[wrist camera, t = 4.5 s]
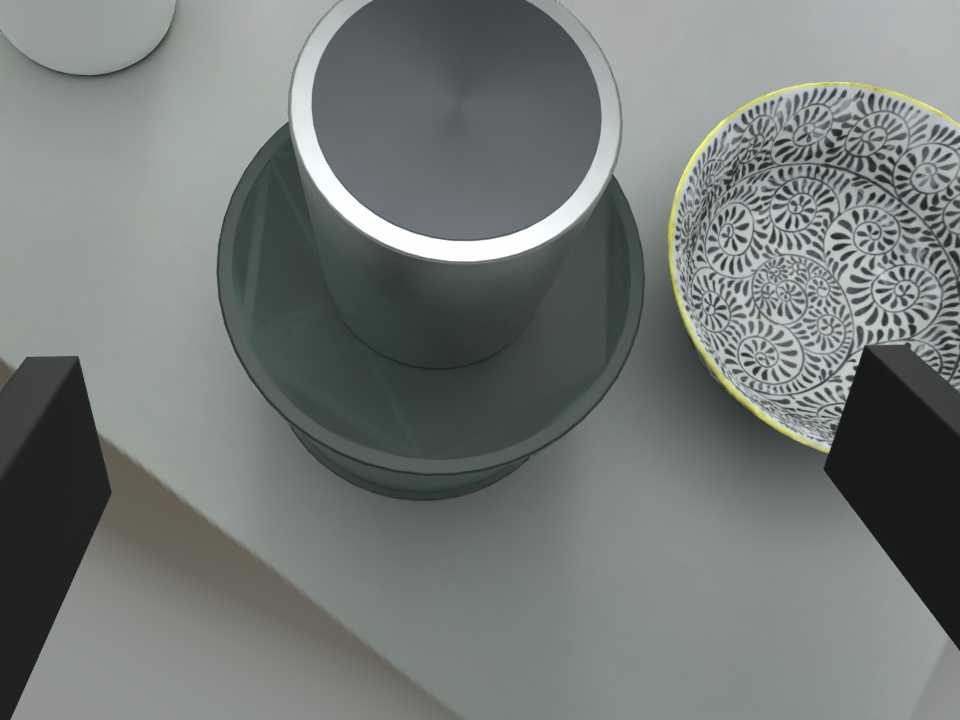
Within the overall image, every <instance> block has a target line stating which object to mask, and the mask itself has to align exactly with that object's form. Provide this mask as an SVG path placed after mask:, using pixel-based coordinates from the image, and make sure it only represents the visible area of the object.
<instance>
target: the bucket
mask: <svg viewBox="0 0 960 720" xmlns="http://www.w3.org/2000/svg"><path fill="white" fill-rule="evenodd" d="M644 282H645V275H644V262H643V251H642V247H641V242H640V238H639V233H638V228H637V225H636V222H635V219H634V217H633V214H632V211H631V208H630V206H629V203H628V201H627V199H626V197H625V195H624V193H623V191H622V189H621V187H620V185H619V183H618V181H617V179H616V178H615V176H614V175H613V174H612V177H611V180H610V182H609V183H608V185H607V187H606V189H605V191H604V192H603V194H602V196H601V198H600V200H599V201H598V203H597V205H596V207H595V208H594V210H593V212H592V214H591V216H590V217H589V219H588V221H587V223H586V224H585V226H584V228H583V230H582V231H581V233H580V235H579V237H578V239H577V240H576V242H575V244H574V246H573V247H572V249H571V251H570V253H569V255H568V256H567V258H566V260H565V262H564V263H563V265H562V267H561V269H560V271H559V272H558V274H557V276H556V278H555V279H554V281H553V283H552V285H551V286H550V288H549V290H548V292H547V294H546V295H545V297H544V299H543V301H542V302H541V304H540V306H539V308H538V310H537V311H536V313H535V315H534V317H533V318H532V320H531V321H530V323H529V324H528V325H527V327H526V328H525V329H524V331H523V332H522V333H521V334H520V335H519V336H518V337H517V338H516V339H515V340H514V341H513V342H511V343H510V344H509V345H508V346H506V347H505V348H504V349H502V350H501V351H499V352H497V353H495V354H494V355H492V356H490V357H488V358H486V359H483V360H481V361H478V362H476V363H472V364H469V365H465V366H461V367H453V368H424V367H416V366H412V365H408V364H404V363H401V362H398V361H396V360H393V359H391V358H388V357H386V356H384V355H382V354H381V353H379V352H377V351H375V350H373V349H372V348H371V347H369V346H368V345H367V344H365V343H364V342H363V341H361V340H360V339H359V338H358V337H357V336H356V335H355V334H354V333H353V332H352V331H351V330H350V329H349V328H348V326H347V325H346V324H345V322H344V321H343V320H342V319H341V317H340V315H339V314H338V312H337V310H336V309H335V307H334V305H333V302H332V300H331V298H330V295H329V293H328V289H327V285H326V282H325V278H324V273H323V269H322V265H321V261H320V257H319V252H318V248H317V244H316V240H315V236H314V231H313V227H312V223H311V219H310V215H309V210H308V206H307V202H306V198H305V193H304V189H303V185H302V181H301V177H300V172H299V168H298V164H297V160H296V156H295V151H294V147H293V143H292V139H291V134H290V128H289V121H288V122H287V123H286V124H285V125H284V126H282V127H281V128H280V129H279V130H278V131H277V132H276V133H275V134H274V135H273V136H272V137H271V138H270V139H269V140H268V141H267V142H266V143H265V144H264V145H263V147H262V148H261V149H260V150H259V151H258V153H257V154H256V156H255V157H254V158H253V160H252V161H251V163H250V164H249V165H248V167H247V168H246V170H245V171H244V173H243V175H242V177H241V179H240V181H239V183H238V185H237V186H236V188H235V190H234V192H233V194H232V197H231V200H230V202H229V205H228V208H227V211H226V213H225V216H224V219H223V224H222V229H221V234H220V239H219V243H218V256H217V284H218V296H219V302H220V307H221V311H222V315H223V320H224V324H225V327H226V330H227V333H228V335H229V338H230V340H231V343H232V346H233V348H234V351H235V353H236V355H237V357H238V358H239V360H240V362H241V364H242V366H243V367H244V369H245V371H246V373H247V375H248V376H249V378H250V379H251V381H252V382H253V383H254V385H255V386H256V387H257V388H258V390H259V391H260V392H261V394H262V395H263V396H264V398H265V399H266V400H267V402H268V403H269V404H270V405H271V406H272V407H273V408H274V409H275V410H276V411H277V412H278V413H279V414H280V415H281V416H282V417H283V418H284V419H285V420H286V421H287V422H288V423H289V425H290V426H291V428H292V430H293V432H294V433H295V434H296V436H297V437H298V438H299V440H300V441H301V442H302V444H303V445H304V446H305V447H306V449H307V450H308V451H309V452H310V453H311V454H312V455H313V456H314V457H315V458H316V459H317V460H318V461H319V462H320V463H321V464H323V465H324V466H325V467H327V468H328V469H329V470H331V471H332V472H333V473H334V474H336V475H337V476H339V477H341V478H342V479H344V480H346V481H348V482H349V483H351V484H353V485H355V486H357V487H360V488H362V489H365V490H367V491H370V492H372V493H375V494H379V495H383V496H386V497H390V498H394V499H403V500H412V501H436V500H442V499H449V498H456V497H459V496H463V495H466V494H470V493H473V492H476V491H478V490H481V489H483V488H485V487H487V486H490V485H492V484H494V483H496V482H497V481H499V480H501V479H502V478H504V477H506V476H507V475H509V474H510V473H512V472H513V471H514V470H516V469H517V468H518V467H519V466H520V465H522V464H523V463H524V462H525V461H527V460H528V459H529V458H530V457H531V456H532V455H535V454H536V453H538V452H539V451H541V450H543V449H544V448H546V447H548V446H549V445H551V444H553V443H554V442H556V441H558V440H559V439H560V438H562V437H563V436H564V435H565V434H567V433H568V432H569V431H570V430H571V429H573V428H574V427H575V426H576V425H578V424H579V423H580V422H581V421H582V420H584V419H585V418H586V417H587V415H588V414H589V413H590V412H591V411H592V410H593V409H594V408H595V407H596V406H597V405H598V404H599V403H600V401H601V400H602V399H603V398H604V396H605V395H606V394H607V392H608V391H609V389H610V388H611V386H612V385H613V384H614V382H615V381H616V379H617V378H618V376H619V374H620V372H621V370H622V368H623V366H624V364H625V362H626V360H627V358H628V356H629V354H630V352H631V349H632V346H633V343H634V340H635V337H636V334H637V331H638V328H639V323H640V318H641V313H642V308H643V300H644Z"/></svg>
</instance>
